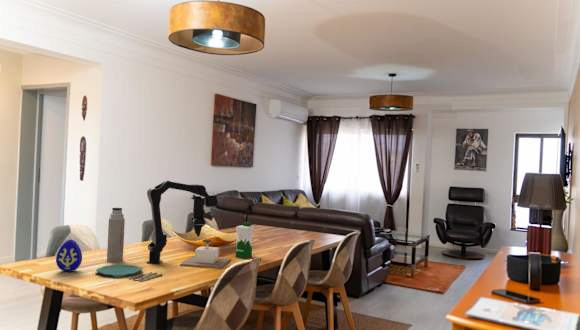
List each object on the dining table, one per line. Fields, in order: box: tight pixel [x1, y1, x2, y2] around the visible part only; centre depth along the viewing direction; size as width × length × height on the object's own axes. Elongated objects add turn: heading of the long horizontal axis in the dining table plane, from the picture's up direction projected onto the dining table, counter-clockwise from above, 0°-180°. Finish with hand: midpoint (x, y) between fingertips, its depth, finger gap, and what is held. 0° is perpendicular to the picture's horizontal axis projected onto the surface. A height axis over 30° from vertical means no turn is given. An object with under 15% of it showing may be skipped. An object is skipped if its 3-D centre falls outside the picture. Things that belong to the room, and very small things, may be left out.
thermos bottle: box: [106, 207, 126, 263], centre depth 248 cm, size 8×8×28 cm
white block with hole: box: [194, 245, 219, 263], centre depth 253 cm, size 10×10×7 cm
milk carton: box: [234, 221, 255, 259], centre depth 274 cm, size 9×9×20 cm
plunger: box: [202, 238, 213, 249], centre depth 253 cm, size 5×5×7 cm
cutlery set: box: [95, 263, 163, 283], centre depth 220 cm, size 20×30×2 cm, turn 63°
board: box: [179, 255, 232, 269], centre depth 253 cm, size 22×22×1 cm
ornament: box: [55, 239, 83, 273], centre depth 221 cm, size 11×9×15 cm
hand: (197, 235), depth 260 cm, fingers open, 9 cm apart
